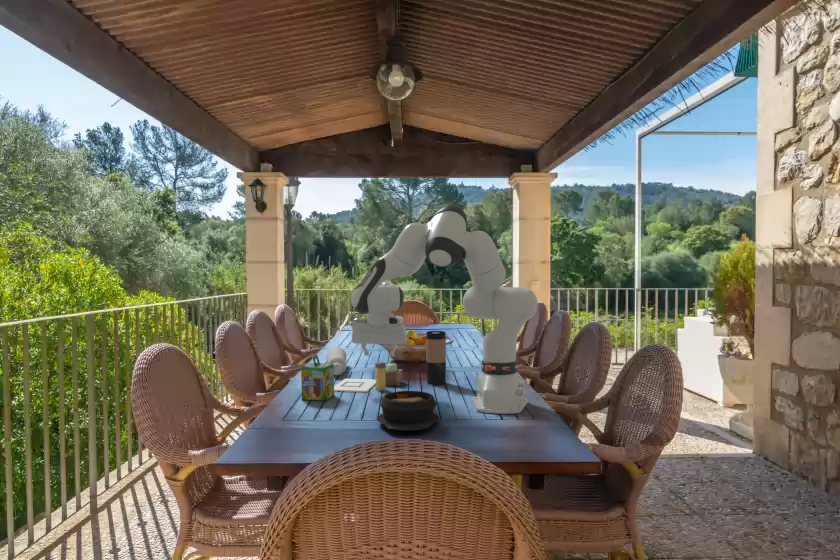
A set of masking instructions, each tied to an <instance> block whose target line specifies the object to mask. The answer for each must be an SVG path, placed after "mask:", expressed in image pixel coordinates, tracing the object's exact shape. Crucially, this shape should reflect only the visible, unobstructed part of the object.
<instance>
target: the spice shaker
mask: <svg viewBox="0 0 840 560" xmlns="http://www.w3.org/2000/svg"><path fill="white" fill-rule="evenodd" d="M374 367H375V368H374V369H375V379H376V384H375V391H377V390H384V391H386V385H385V369H386V368H387V364H386V362H384V361H379V362H375V364H374Z"/></svg>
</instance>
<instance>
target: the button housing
mask: <svg viewBox="0 0 840 560" xmlns="http://www.w3.org/2000/svg"><path fill="white" fill-rule="evenodd" d="M401 382H402V383H403V369H402V368H401V369H399V368H397V372H387V368H385V386H388V385H399V386H400V385H401V384H402V383H401ZM400 383H401V384H400Z"/></svg>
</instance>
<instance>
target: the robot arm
mask: <svg viewBox="0 0 840 560" xmlns="http://www.w3.org/2000/svg"><path fill="white" fill-rule="evenodd" d="M467 217H468V216H467V214H466V212H465V211H464V210H463V209H462V208H460V207H458V206H456V205H447V206H443V207H442V208H440V209H438V210H437V211H436V212H435V213H434V214H431V215H430V216H428V218H427V219H428V221H427V222H428V223H421V222H412V223H408V224H407V225H406V226H405V227H404V228H403V229H402V230H401V232H400V233H399V235H398V237H397V238H396V240H395V242H394V244H393V246H392V247H391V249H389V250H388V251H387V253H385V254H384V255H383V256H381V257H379V258H378V259H377V260H376V261H375V262H374V263H373V264H372V266H370V268H369V270H368V271H367V273H366V274H365V276H364V277H363V278H362V280H361V281H360V282H359V283H358V285H356V286H355V287H354V288H353V290H352V291H351V294H350V304H351V307H352V308H353V310H355V312H357V313H358V314H359V315H363V314H366V318H358V317H357V318H356V317H355V319H353V320H352V321H351V329H352V333H351V342H352V343H353V344H357V345H358V344H360V345H361V346H360V348H361V349H362V350H363V352H364V357H369V356H370V350H368V349H367V348H366V347H367V345H373V344H374V345H391V346H392V348H393V349H392V350H390V351H389V357H395V351H396V349H397V347H398V345H405V344H406V343H407V340H408V338H407V337H408V336H407V329H406V326H405V324H403V323H404V317H403V316H399V315H396V314H393V313H392V312H397V311H399V310H400V309H401V308H402V307H403V305H404V301H405V300H404V298H405V297H404V291H403V289H401V287H400V286H399V285H396V284H394V283H393V282H392V280H393V279H397V278H402V277H403V278H404V277H410V276H412V275H413V274H415V273H417V272H418V271H419V270H420V269H421V267H422V266H423V265H424V262H425V261H426V260H427V262H429V263H430V264H431V265H433V266H435V267H437V268H450V267H453V266H458V265H461V264H462V263H463V262H464V264H465V267H466V269H467V271H468V275H469V277H470V279H471V284H472V286H471V287H470V288H468V289H467V290H466V291H465V293H464V295H463V298H462V307H463V309H464V312H465V313H466V314H467V316H470V317H474V318H476V319H477V318H478V319H481V320H482V319H484V320H485V319H486V320H498V324H497V327H496V328H495V329H492V330H491V331H489V332H487V333H486V334H485V335H484V337H483V340H482V359H481V373H480V374H479V375H477V389H476V391H475V393H476V394H477V396H472V397H471V399H470V401H471V403H472V404H473V406H474V408H475V409H474V410H476V412H480V413H487V414H503V415H504V414H520V413H522V411H523V410H524V409H525V407H526V406H527V405H528V403H529V401H528V398H525V397H524V398H523V394H524V389H523V385H524V384H523V383H522V382H523V381H522V377H521V375H519V374H518V367H519V365H518V360H517V342H518V336H519V335H520V334H519V333H520V331H521V329H522V327H523V326H524V325H525V323H526V322H527V321H529V320H530V319H532V318H533V317H534V315H535V314H536V312H537V310H538V303H539V302H538V299H537V296H536V294H535V293H534V292H533V291H532V290H531V289H527V288H523V287H517V286H513V287H512V286H502V285H503V283H504V282H505V280H506V278H507V277H506V276H507V274H506V269H505V266H504V264H503V261H502V258H501V255H500V252H499V250H498V248H497V246H496V243H494V241H493V238H491V236H490V235H489V234H488V233H487V232H486V231H482V230H474V231H471V232H470V231H467V228H468V218H467Z"/></svg>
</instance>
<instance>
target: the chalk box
mask: <svg viewBox="0 0 840 560" xmlns="http://www.w3.org/2000/svg"><path fill="white" fill-rule="evenodd" d="M312 361H313V363H312V362H311V363H308V364H305V365H303V366H301V367H300V371H301V372H300V373H301V374H300V375H301V377H300V378H301V379H300V380H301V401H325V402H326V401H327V400H329V399H330V398H332V397H334V396H335V392H334V386H335V375H334V364H328V363H323V362H320V359H319V355H317V354H316V355H314V356H312Z"/></svg>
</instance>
